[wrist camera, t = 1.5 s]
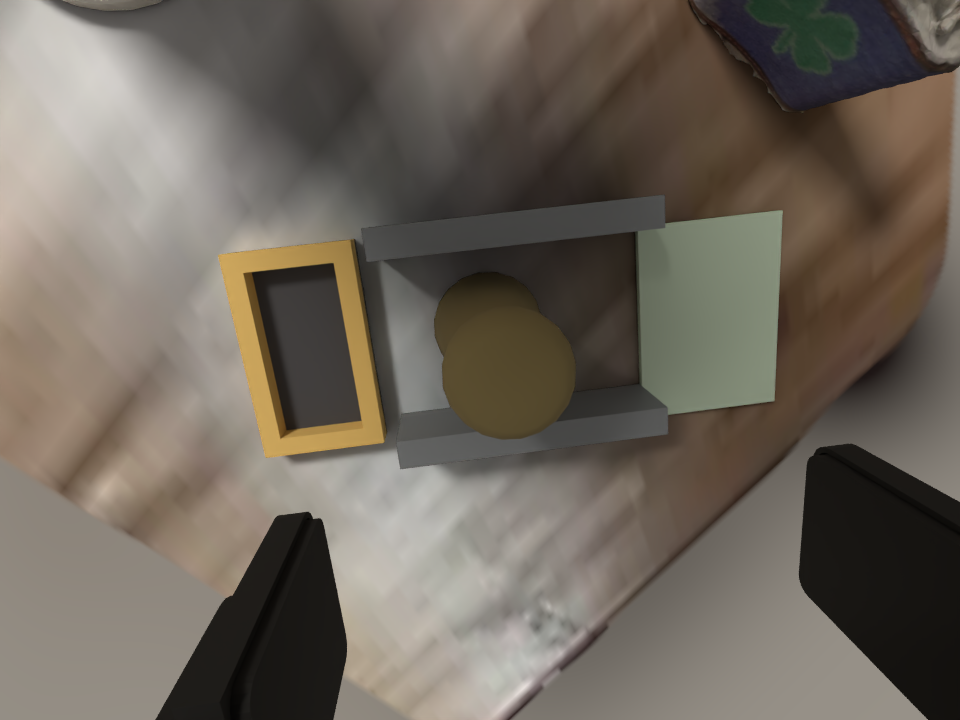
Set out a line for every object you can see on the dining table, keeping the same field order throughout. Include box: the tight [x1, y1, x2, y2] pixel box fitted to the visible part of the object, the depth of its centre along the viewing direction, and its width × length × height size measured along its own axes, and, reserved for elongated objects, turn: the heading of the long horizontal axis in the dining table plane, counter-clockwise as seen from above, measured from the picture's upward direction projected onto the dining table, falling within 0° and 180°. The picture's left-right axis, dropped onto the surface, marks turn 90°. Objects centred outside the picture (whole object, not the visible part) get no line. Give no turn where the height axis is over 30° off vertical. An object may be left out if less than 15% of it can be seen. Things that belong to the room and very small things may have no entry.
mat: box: [635, 210, 783, 415], centre depth 30 cm, size 11×8×1 cm
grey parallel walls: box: [361, 195, 668, 469], centre depth 28 cm, size 12×14×4 cm
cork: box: [434, 272, 576, 440], centre depth 24 cm, size 6×6×11 cm
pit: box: [218, 239, 387, 458], centre depth 28 cm, size 11×6×2 cm, turn 6°
